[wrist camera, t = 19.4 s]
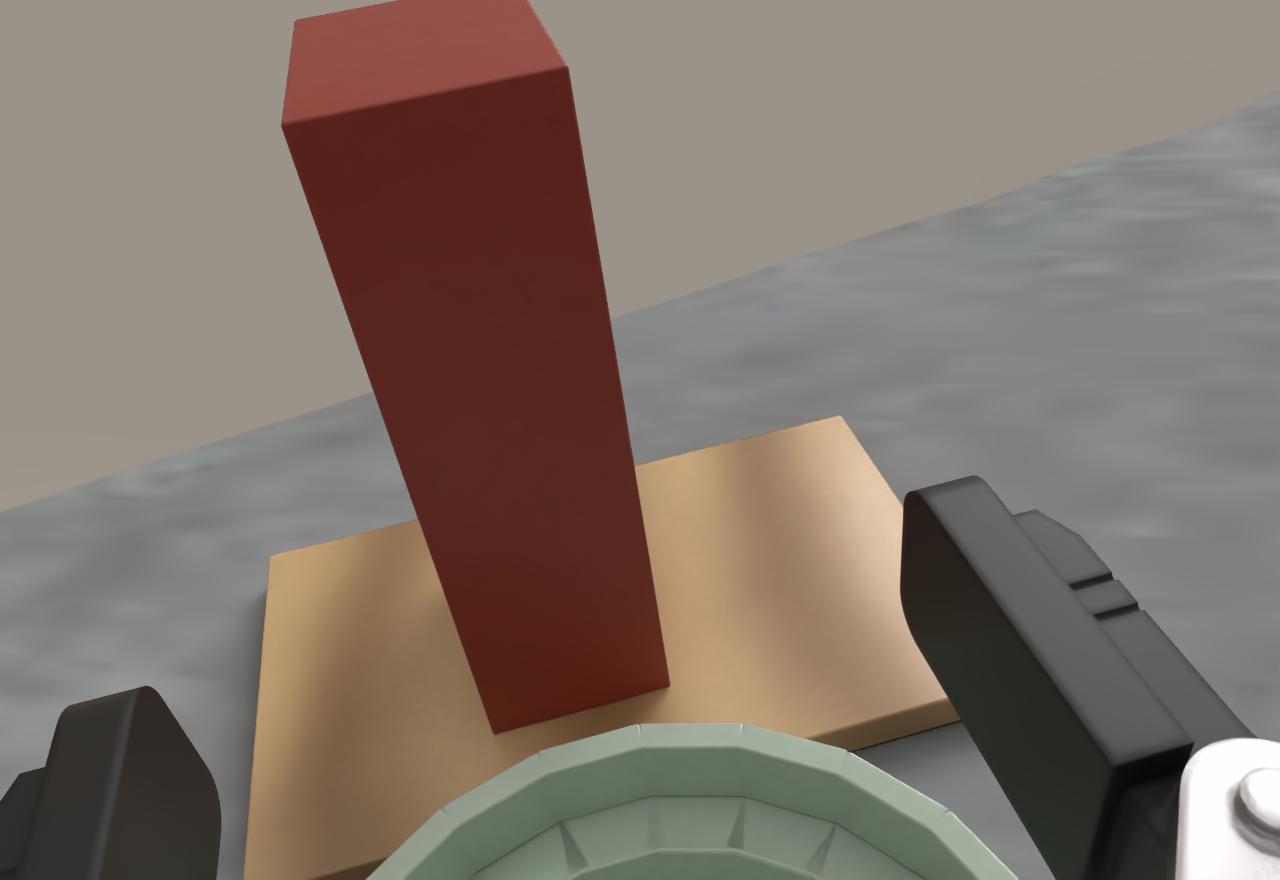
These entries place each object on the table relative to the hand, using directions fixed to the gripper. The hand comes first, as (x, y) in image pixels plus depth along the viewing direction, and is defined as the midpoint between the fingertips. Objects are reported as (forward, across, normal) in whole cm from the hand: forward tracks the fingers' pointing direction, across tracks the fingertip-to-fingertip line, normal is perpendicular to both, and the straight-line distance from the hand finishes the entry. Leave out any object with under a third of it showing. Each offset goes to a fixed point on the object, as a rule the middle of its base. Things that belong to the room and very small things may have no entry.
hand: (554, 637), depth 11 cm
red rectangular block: (+11, 0, +12) cm, 16 cm away
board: (+11, -1, +13) cm, 17 cm away
